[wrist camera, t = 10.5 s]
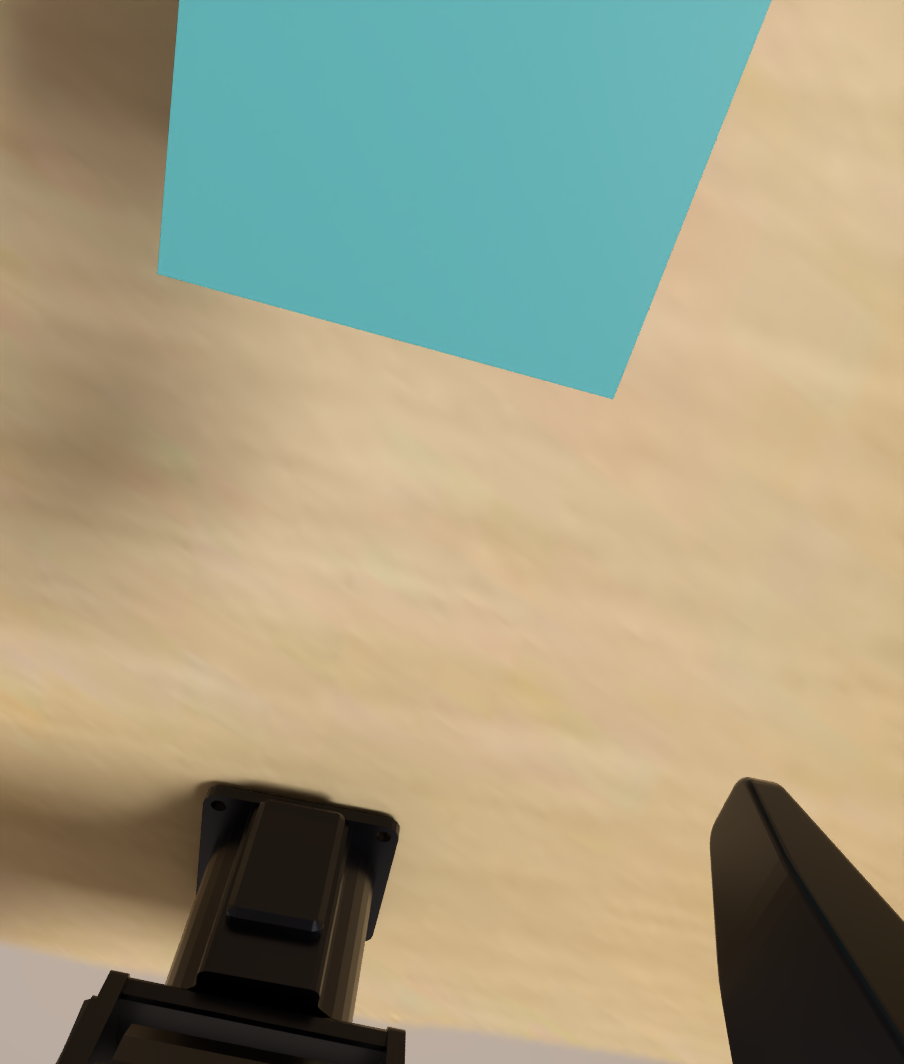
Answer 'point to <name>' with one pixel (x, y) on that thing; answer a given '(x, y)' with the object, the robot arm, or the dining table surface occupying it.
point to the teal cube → (449, 165)
